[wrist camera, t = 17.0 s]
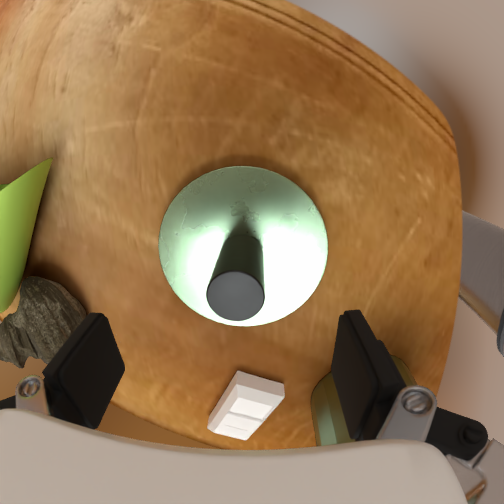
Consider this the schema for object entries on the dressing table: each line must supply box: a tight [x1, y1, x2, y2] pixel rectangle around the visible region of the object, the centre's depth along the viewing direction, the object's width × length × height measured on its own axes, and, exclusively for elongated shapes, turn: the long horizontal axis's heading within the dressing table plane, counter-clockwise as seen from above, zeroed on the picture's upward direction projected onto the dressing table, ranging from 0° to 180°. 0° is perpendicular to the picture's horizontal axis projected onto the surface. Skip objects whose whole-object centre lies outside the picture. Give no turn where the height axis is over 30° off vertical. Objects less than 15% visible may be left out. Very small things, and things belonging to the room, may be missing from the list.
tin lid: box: [158, 166, 328, 326], centre depth 17 cm, size 12×12×7 cm
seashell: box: [0, 276, 87, 368], centre depth 19 cm, size 11×12×10 cm
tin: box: [311, 355, 417, 446], centre depth 21 cm, size 11×11×11 cm
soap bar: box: [207, 371, 285, 440], centre depth 26 cm, size 5×9×3 cm, turn 157°
